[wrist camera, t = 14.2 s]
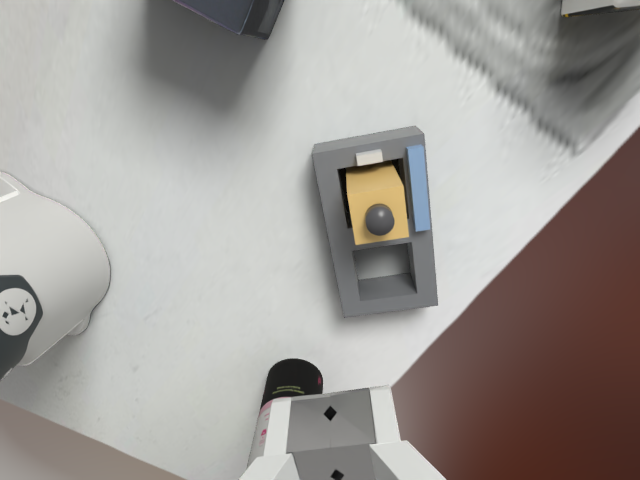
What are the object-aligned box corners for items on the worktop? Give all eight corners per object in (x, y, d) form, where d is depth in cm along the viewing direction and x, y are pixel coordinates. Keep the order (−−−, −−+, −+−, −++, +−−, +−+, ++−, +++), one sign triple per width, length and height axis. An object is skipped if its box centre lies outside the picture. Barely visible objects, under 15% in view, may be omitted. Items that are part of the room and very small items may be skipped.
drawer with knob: (352, 205, 38) (356, 252, 29) (345, 164, 37) (347, 200, 28) (394, 198, 38) (411, 243, 29) (389, 156, 36) (406, 190, 27)
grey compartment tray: (343, 295, 43) (344, 323, 38) (314, 144, 36) (311, 156, 32) (429, 283, 42) (440, 311, 37) (415, 125, 35) (426, 135, 30)
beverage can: (320, 400, 49) (313, 532, 35) (267, 395, 49) (239, 525, 35) (325, 358, 46) (319, 484, 33) (269, 352, 46) (239, 476, 33)
